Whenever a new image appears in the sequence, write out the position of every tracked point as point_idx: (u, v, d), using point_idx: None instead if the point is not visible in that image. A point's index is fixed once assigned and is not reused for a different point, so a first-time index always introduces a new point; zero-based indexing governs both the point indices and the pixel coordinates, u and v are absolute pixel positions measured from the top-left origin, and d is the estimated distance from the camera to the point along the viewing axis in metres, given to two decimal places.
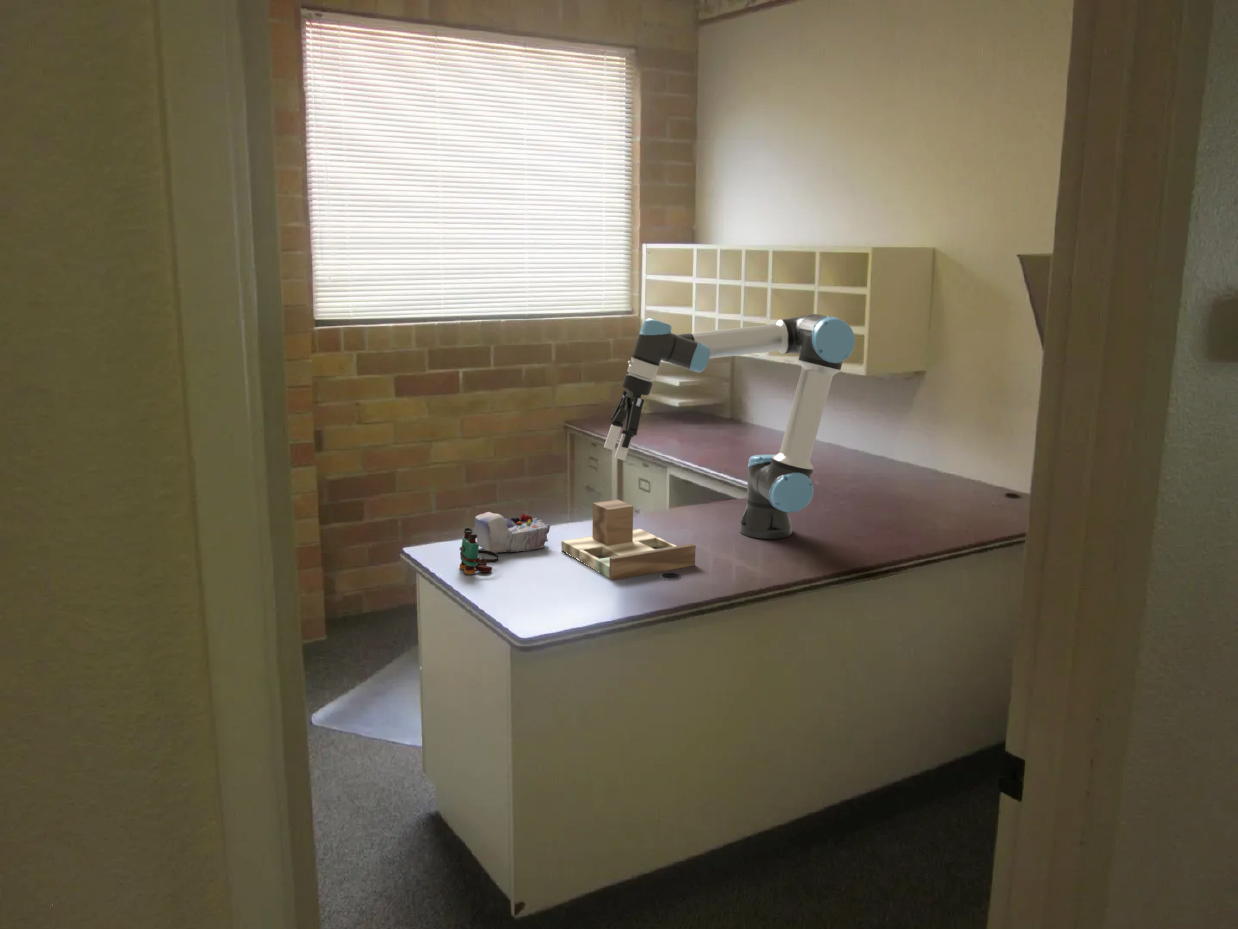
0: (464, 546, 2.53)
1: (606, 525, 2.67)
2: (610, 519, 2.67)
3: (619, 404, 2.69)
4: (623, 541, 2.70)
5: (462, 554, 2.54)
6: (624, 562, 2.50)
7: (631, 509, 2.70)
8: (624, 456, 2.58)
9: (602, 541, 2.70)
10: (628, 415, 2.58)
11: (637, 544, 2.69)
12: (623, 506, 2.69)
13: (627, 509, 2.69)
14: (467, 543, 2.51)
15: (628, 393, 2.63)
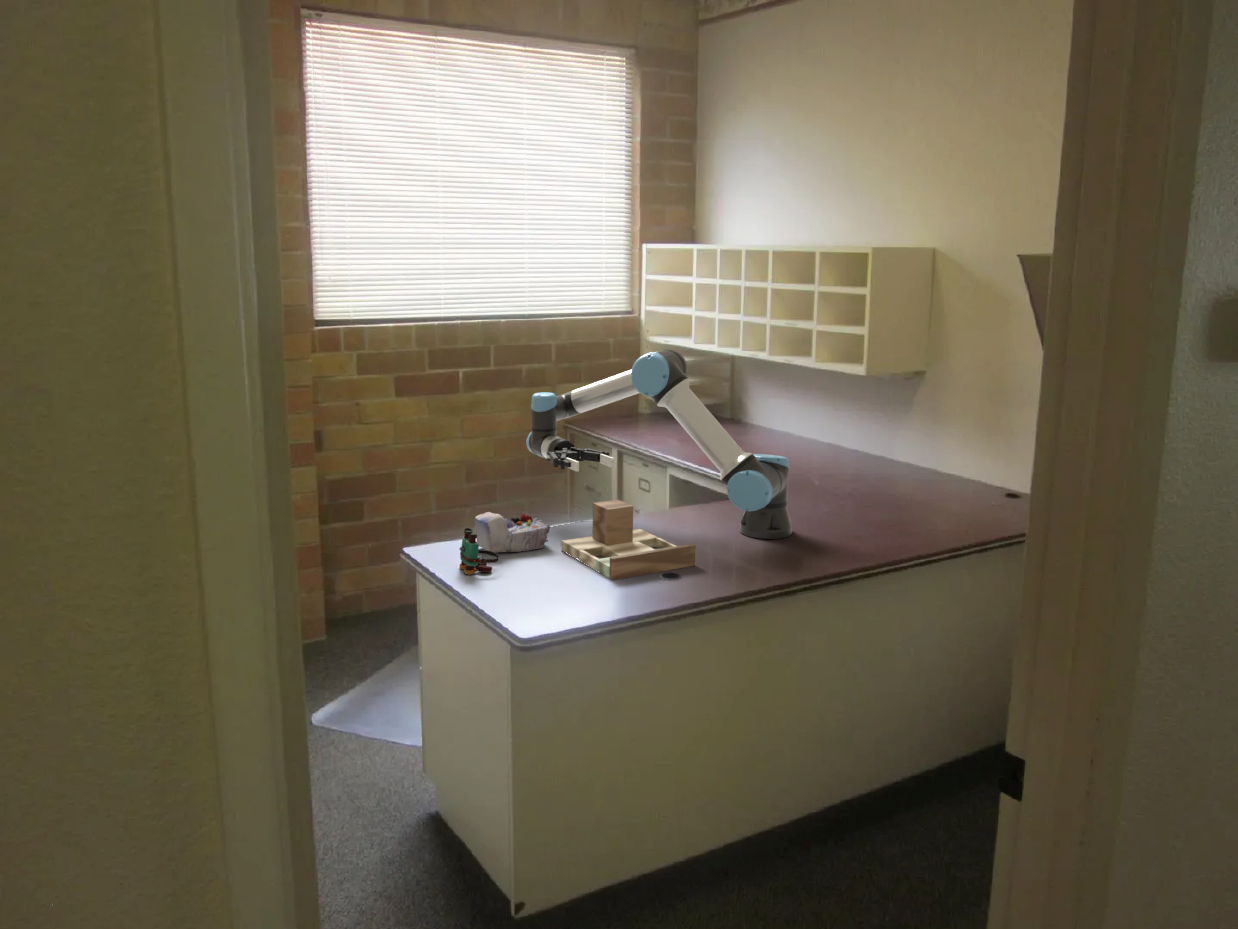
0: (464, 546, 2.53)
1: (606, 525, 2.67)
2: (610, 519, 2.67)
3: None
4: (623, 541, 2.70)
5: (462, 554, 2.54)
6: (624, 562, 2.50)
7: (631, 509, 2.70)
8: (574, 462, 2.75)
9: (602, 541, 2.70)
10: None
11: (637, 544, 2.69)
12: (623, 506, 2.69)
13: (627, 509, 2.69)
14: (467, 543, 2.51)
15: None
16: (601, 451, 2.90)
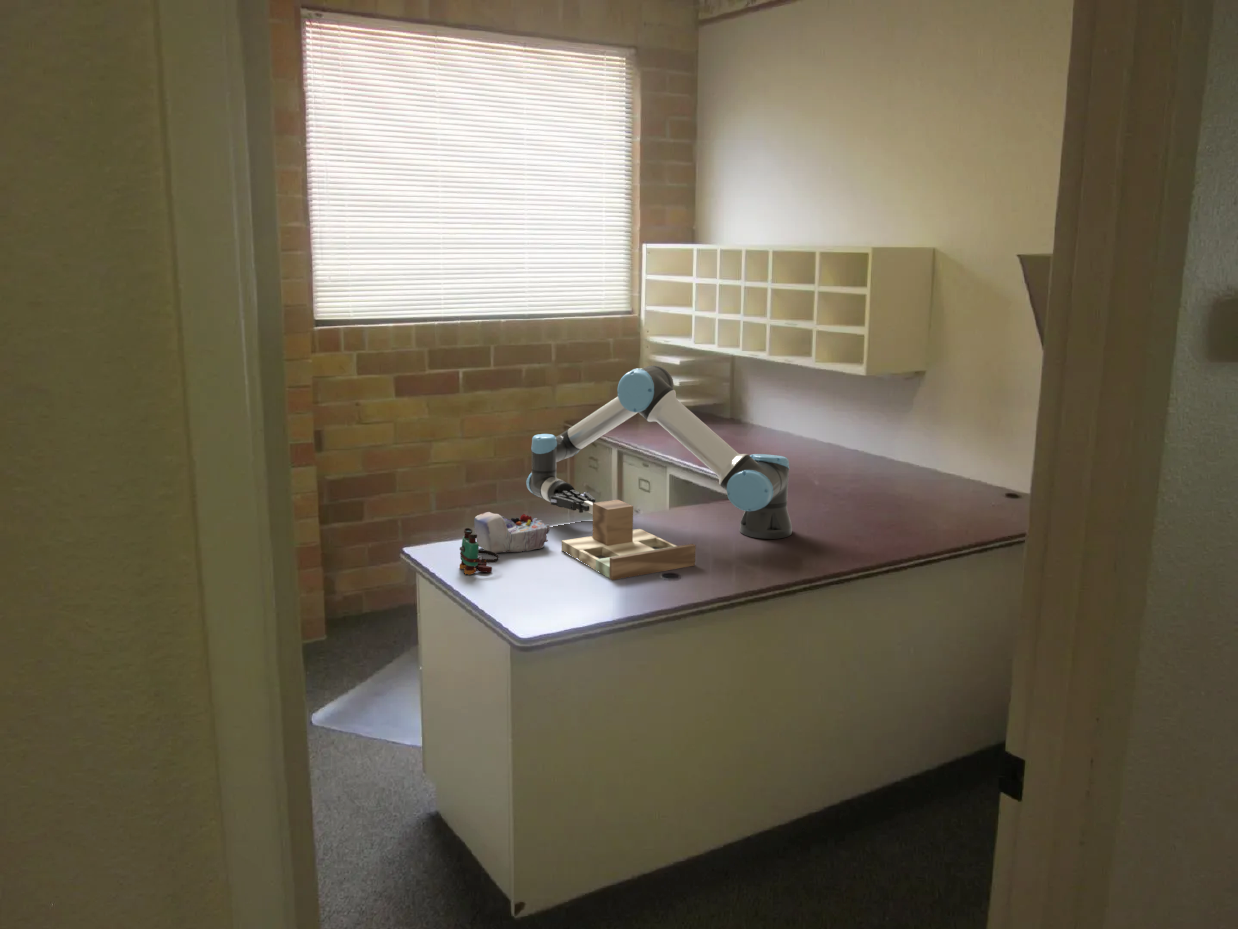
0: (464, 546, 2.53)
1: (606, 525, 2.67)
2: (610, 519, 2.67)
3: None
4: (623, 541, 2.70)
5: (462, 554, 2.54)
6: (624, 562, 2.50)
7: (631, 509, 2.70)
8: None
9: (602, 541, 2.70)
10: None
11: (637, 544, 2.69)
12: (623, 506, 2.69)
13: (627, 509, 2.69)
14: (467, 543, 2.51)
15: None
16: (591, 497, 2.89)
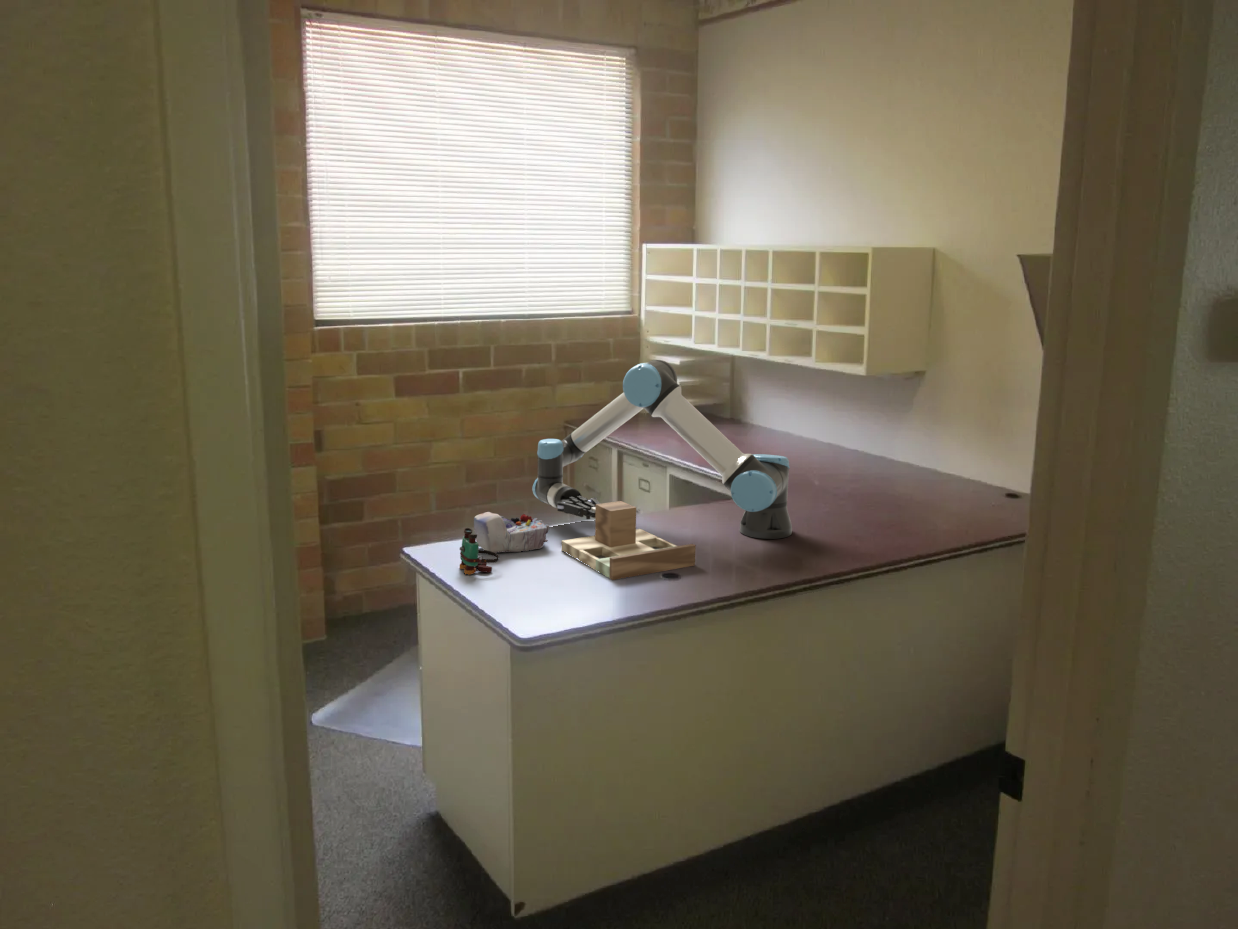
0: (464, 546, 2.53)
1: (609, 527, 2.66)
2: (613, 520, 2.65)
3: None
4: (626, 543, 2.69)
5: (462, 554, 2.54)
6: (624, 562, 2.50)
7: (634, 510, 2.68)
8: None
9: (605, 543, 2.68)
10: None
11: (637, 544, 2.69)
12: (626, 507, 2.68)
13: (630, 511, 2.68)
14: (467, 543, 2.51)
15: None
16: (599, 503, 2.84)
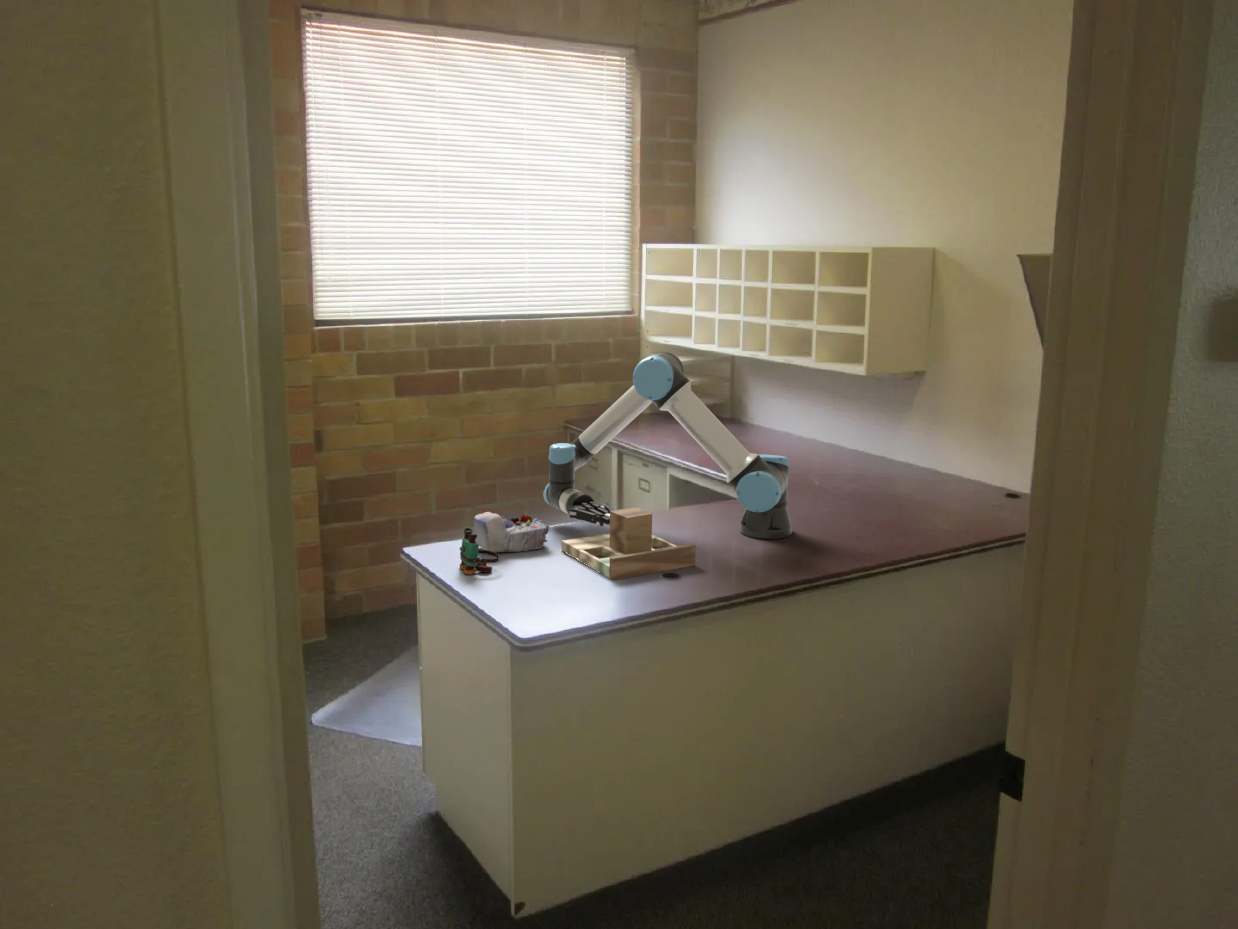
0: (464, 546, 2.53)
1: (625, 534, 2.59)
2: (630, 527, 2.59)
3: None
4: (642, 550, 2.63)
5: (462, 554, 2.54)
6: (624, 562, 2.50)
7: (650, 517, 2.62)
8: None
9: (621, 550, 2.62)
10: None
11: None
12: (642, 514, 2.62)
13: (646, 517, 2.61)
14: (467, 543, 2.51)
15: None
16: (612, 509, 2.77)
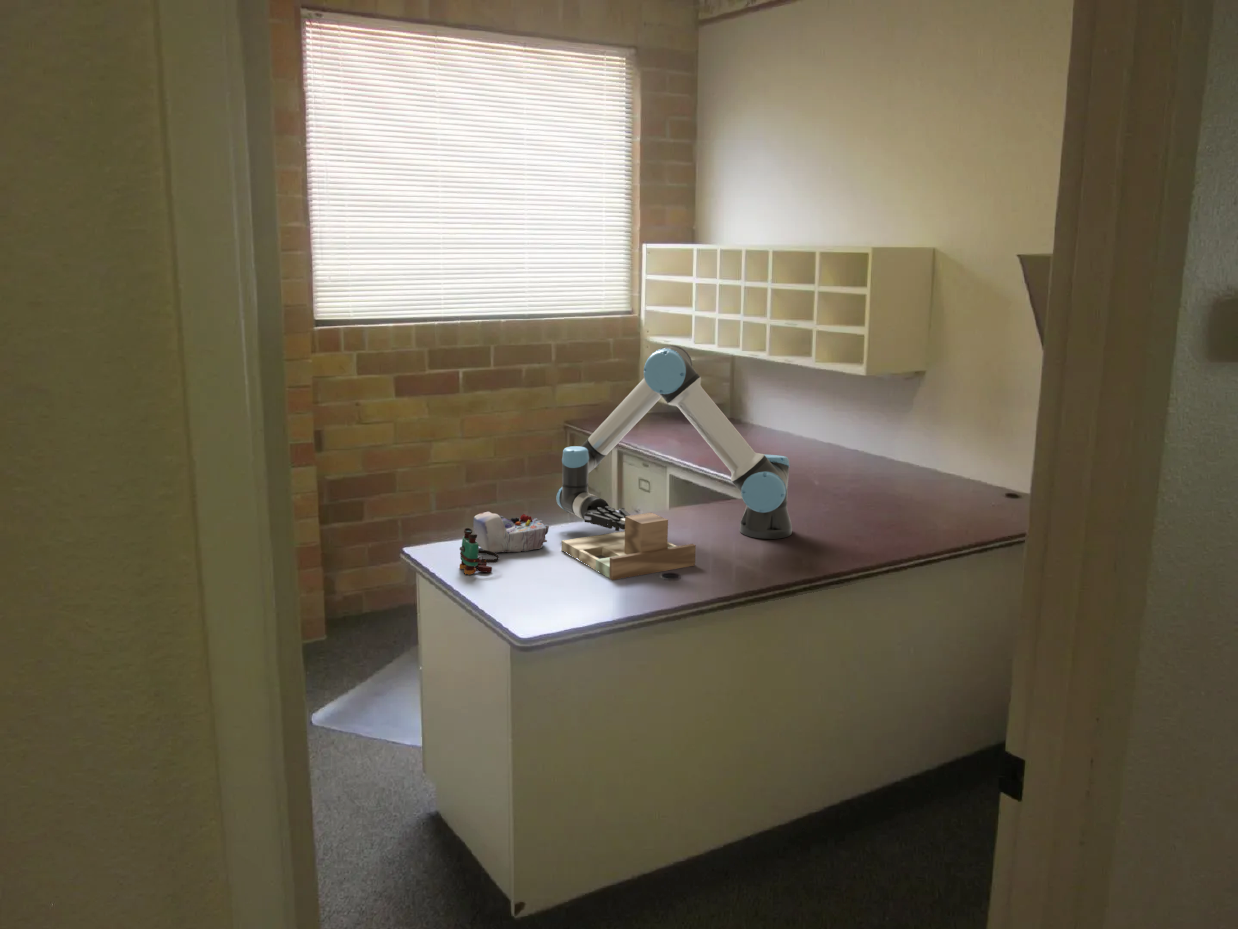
0: (464, 546, 2.53)
1: (640, 540, 2.54)
2: (645, 533, 2.54)
3: None
4: None
5: (462, 554, 2.54)
6: (624, 562, 2.50)
7: (666, 523, 2.57)
8: None
9: None
10: None
11: None
12: (657, 520, 2.56)
13: (662, 523, 2.56)
14: (467, 543, 2.51)
15: None
16: (628, 514, 2.72)
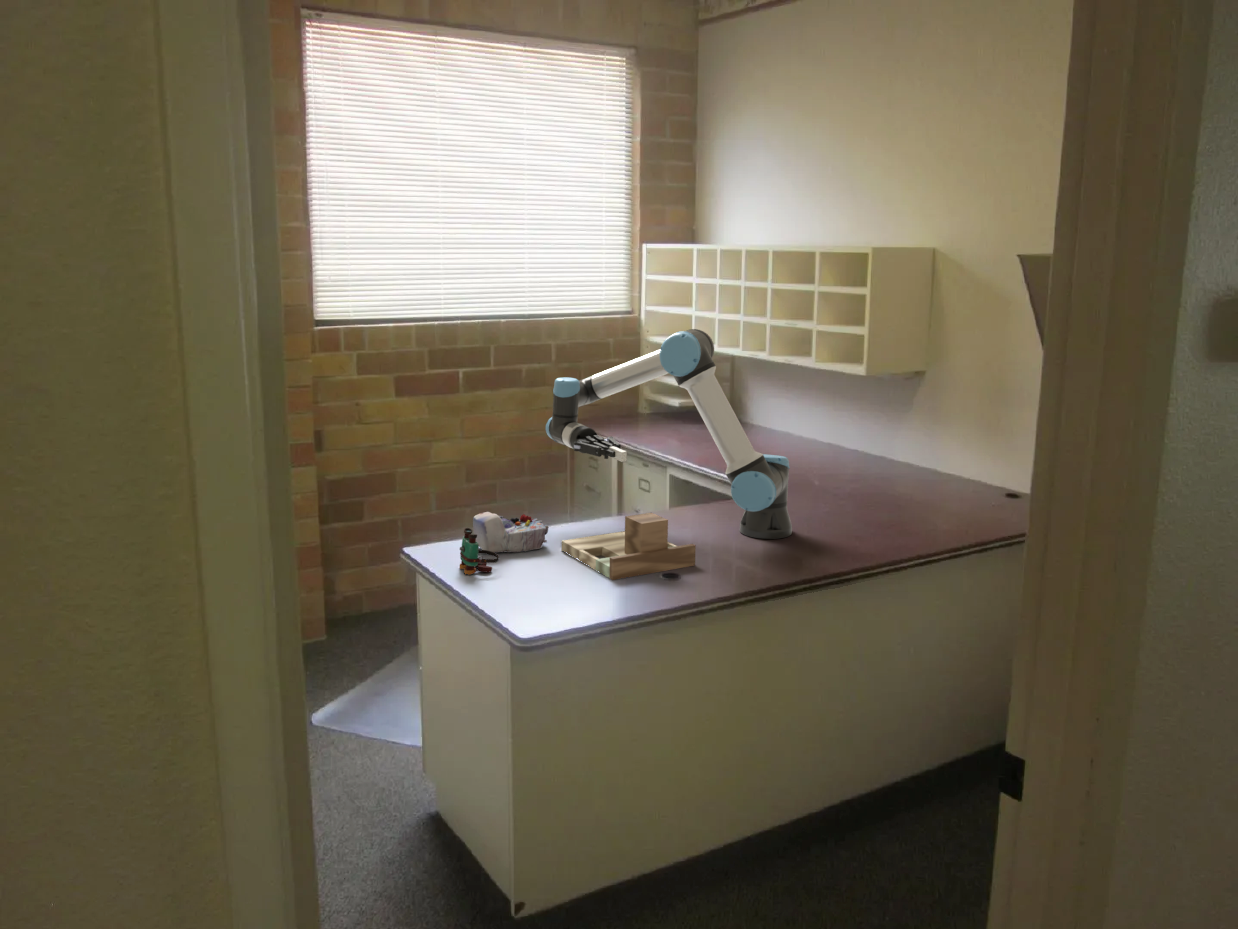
0: (464, 546, 2.53)
1: (640, 540, 2.54)
2: (645, 533, 2.54)
3: None
4: None
5: (462, 554, 2.54)
6: (624, 562, 2.50)
7: (666, 523, 2.57)
8: (619, 452, 2.69)
9: None
10: (595, 451, 2.78)
11: None
12: (657, 520, 2.56)
13: (662, 523, 2.56)
14: (467, 543, 2.51)
15: None
16: (616, 442, 2.79)
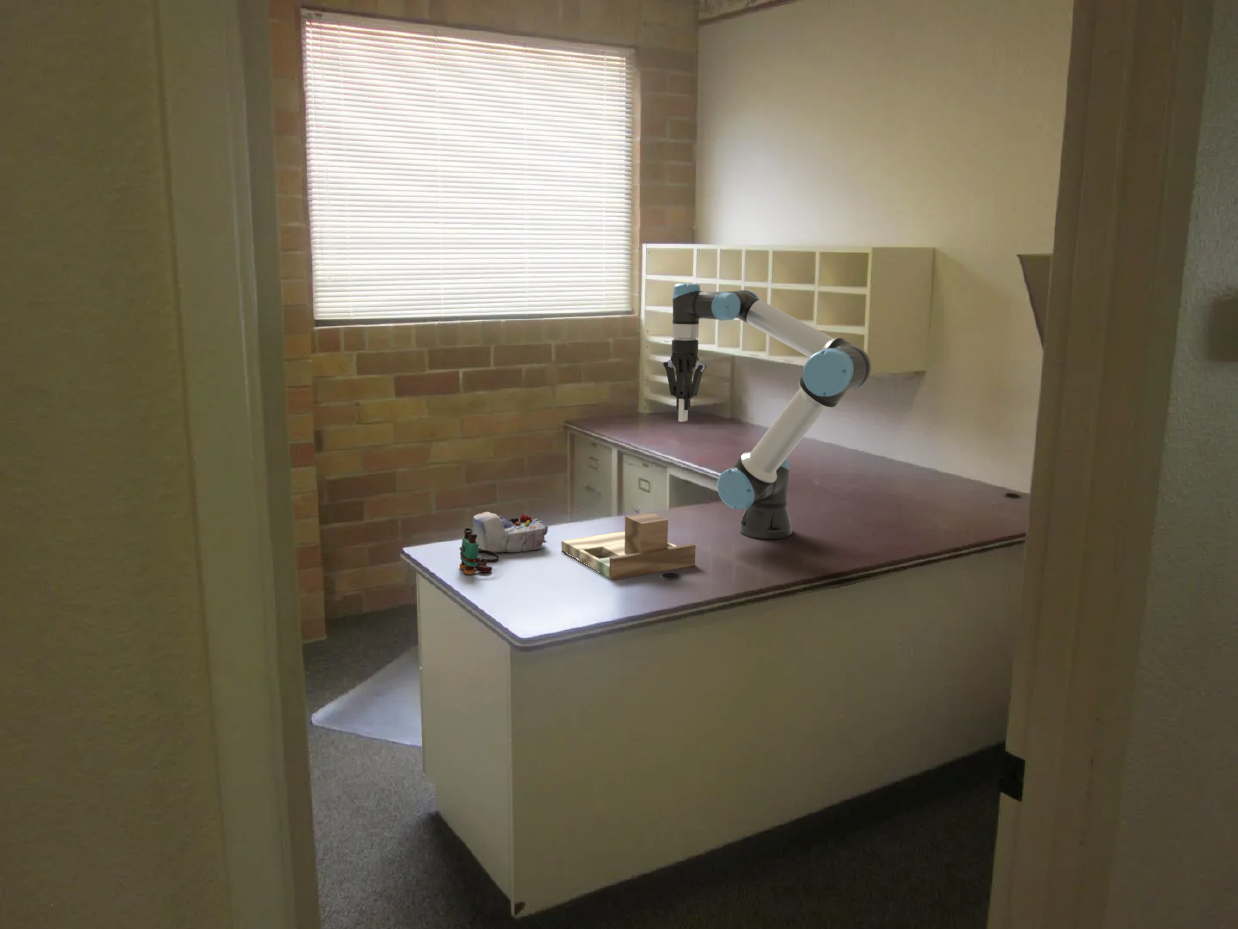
0: (464, 546, 2.53)
1: (640, 540, 2.54)
2: (645, 533, 2.54)
3: None
4: None
5: (462, 554, 2.54)
6: (624, 562, 2.50)
7: (666, 523, 2.57)
8: None
9: None
10: None
11: None
12: (657, 520, 2.56)
13: (662, 523, 2.56)
14: (467, 543, 2.51)
15: None
16: (693, 387, 2.83)
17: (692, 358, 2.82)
